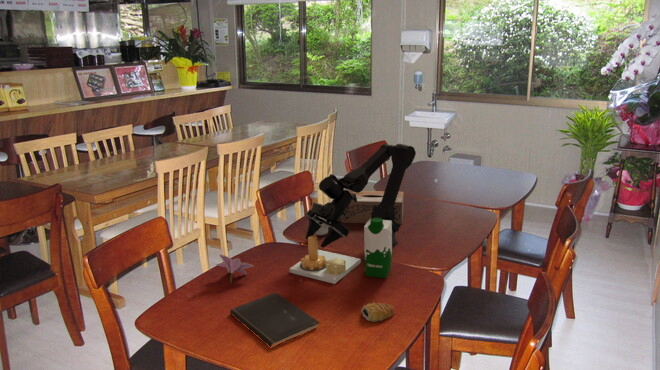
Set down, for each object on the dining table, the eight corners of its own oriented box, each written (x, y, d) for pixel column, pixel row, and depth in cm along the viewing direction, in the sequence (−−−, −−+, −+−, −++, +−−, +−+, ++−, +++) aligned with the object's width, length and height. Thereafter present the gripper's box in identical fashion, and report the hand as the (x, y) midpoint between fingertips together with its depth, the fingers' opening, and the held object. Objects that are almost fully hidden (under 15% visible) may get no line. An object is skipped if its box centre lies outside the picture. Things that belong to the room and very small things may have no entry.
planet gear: (327, 259, 190) (326, 233, 187) (324, 270, 182) (323, 243, 179) (304, 258, 191) (302, 232, 188) (299, 269, 183) (297, 242, 180)
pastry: (387, 306, 162) (387, 295, 160) (398, 317, 156) (399, 306, 155) (359, 313, 158) (359, 302, 157) (369, 325, 152) (369, 313, 151)
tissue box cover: (341, 223, 230) (340, 200, 227) (345, 211, 243) (345, 190, 241) (401, 224, 225) (402, 202, 223) (403, 213, 239) (403, 191, 236)
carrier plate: (361, 263, 191) (361, 251, 189) (335, 284, 176) (335, 271, 175) (317, 253, 200) (317, 242, 199) (289, 272, 185) (289, 260, 184)
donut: (317, 239, 212) (316, 216, 209) (311, 237, 214) (310, 214, 211) (333, 231, 220) (332, 208, 217) (326, 230, 222) (326, 207, 219)
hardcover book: (276, 298, 169) (275, 292, 169) (319, 329, 152) (319, 322, 151) (230, 316, 160) (229, 309, 159) (271, 350, 142) (270, 343, 142)
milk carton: (362, 276, 180) (361, 221, 175) (369, 265, 189) (368, 211, 183) (388, 280, 178) (388, 223, 172) (394, 268, 186) (394, 213, 180)
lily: (258, 283, 180) (258, 255, 183) (231, 283, 172) (231, 252, 174) (234, 285, 188) (235, 257, 190) (207, 284, 179) (208, 255, 181)
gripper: (309, 187, 190) (284, 224, 187) (341, 200, 175) (314, 240, 172) (328, 203, 197) (304, 239, 194) (360, 217, 182) (335, 256, 179)
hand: (313, 243), depth 185 cm, fingers open, 9 cm apart
